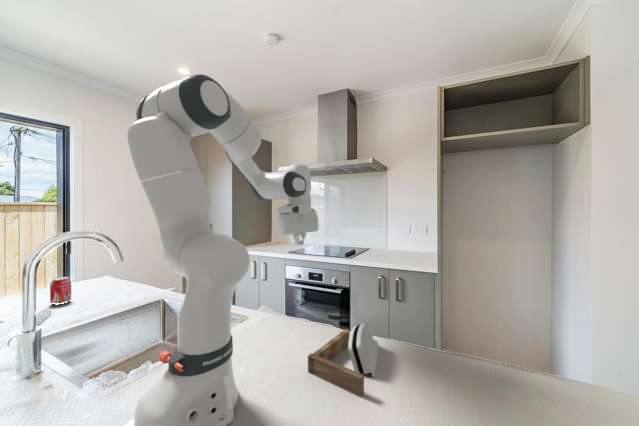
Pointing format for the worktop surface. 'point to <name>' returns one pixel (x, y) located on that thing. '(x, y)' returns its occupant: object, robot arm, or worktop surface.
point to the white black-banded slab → (363, 349)
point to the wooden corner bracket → (335, 365)
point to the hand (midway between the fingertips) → (299, 245)
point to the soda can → (60, 290)
